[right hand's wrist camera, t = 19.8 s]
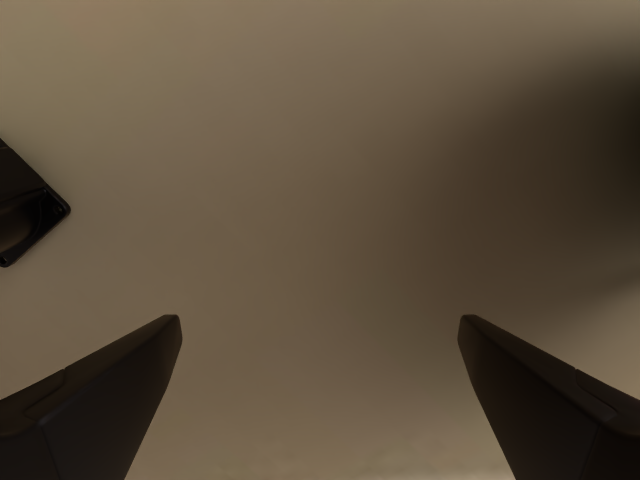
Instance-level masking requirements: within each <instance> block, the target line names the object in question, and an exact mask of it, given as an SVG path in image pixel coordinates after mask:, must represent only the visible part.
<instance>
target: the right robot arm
mask: <svg viewBox="0 0 640 480" xmlns="http://www.w3.org/2000/svg"><path fill="white" fill-rule="evenodd" d="M58 207H60V208H61V209H62V212H60V211H59V209H58ZM70 212H71V209H70V206H69V205H68V204H67V203H66V202H65V201H64V200H63V199H62V198H61V197H60V196H59V195H58V194H57V193H56V192H55V191H54V190H53V189H52V188H51V187H50V186H49V185H48V184H47V183H46V182H45V181H44V180H43V179H42V178H41V177H40V176H39V175H38V174H37V173H36V172H35V171H34V170H33V169H32V168H31V167H30V166H29V165H28V164H27V163H26V162H25V161H24V160H23V159H22V158H21V157H20V156H19V155H18V154H17V153H16V152H15V151H14V150H13V149H11V148H10V147H9V146H8V145H7V144H6V143H5V142H4V141H3V140H2V139H1V138H0V266H1V267H8V266H10V265H12V264H14V263H15V262H16V261H17V260H19V259H20V258H21V257H22V256H23V255H24V254H25V253H26V252H28V251H29V250H30V249H31V248H32V247H33V246H34V245H36V244H37V243H38V242H39V241H40V240H41V239H42V238H43V237H45V236H46V235H47V234H48V233H49V232H50V231H51V230H52V229H54V228H55V227H56V226H57V225H58V224H59V223H60V222H61V221H63V220H64V219H65V218H66V217H67V216H68V215H69V214H70ZM4 258H5V259H6V260H7V261H6V260H5V259H4ZM181 345H182V331H181V325H180V319H179V317H178V315H163V316H161V317H159V318H158V319H156V320H154V321H152V322H150V323H148V324H146V325H144V326H142V327H141V328H139V329H137V330H135V331H133V332H131V333H129V334H127V335H126V336H124V337H122V338H120V339H118V340H116V341H114V342H112V343H111V344H109V345H107V346H105V347H103V348H101V349H99V350H97V351H96V352H94V353H92V354H90V355H88V356H86V357H84V358H82V359H80V360H79V361H77V362H75V363H73V364H71V365H69V366H67V367H66V368H65V370H64V369H62V370H60V371H58V372H56V373H54V374H52V375H50V376H48V377H46V378H45V379H43V380H41V381H39V382H37V383H35V384H33V385H31V386H29V387H27V388H25V389H23V390H21V391H18V392H16V393H14V394H12V395H10V396H8V397H6V398H4V399H2V400H0V480H124V479H125V477H126V475H127V472H128V470H129V468H130V466H131V464H132V462H133V460H134V457H135V455H136V453H137V451H138V449H139V447H140V445H141V442H142V440H143V438H144V436H145V434H146V432H147V430H148V427H149V425H150V423H151V421H152V419H153V417H154V415H155V412H156V410H157V408H158V406H159V404H160V402H161V400H162V397H163V395H164V393H165V391H166V389H167V386H168V384H169V381H170V378H171V375H172V372H173V369H174V366H175V363H176V360H177V357H178V354H179V351H180V348H181ZM458 345H459V348H460V351H461V354H462V357H463V360H464V363H465V366H466V369H467V372H468V375H469V378H470V381H471V384H472V386H473V388H474V391H475V393H476V395H477V397H478V400H479V402H480V404H481V406H482V408H483V410H484V412H485V415H486V417H487V419H488V421H489V423H490V425H491V427H492V430H493V432H494V434H495V436H496V438H497V440H498V442H499V445H500V447H501V449H502V451H503V453H504V455H505V457H506V460H507V462H508V464H509V466H510V468H511V470H512V472H513V475H514V477H515V479H516V480H640V400H638V399H636V398H634V397H632V396H630V395H628V394H626V393H624V392H622V391H619V390H617V389H615V388H613V387H611V386H609V385H607V384H605V383H603V382H601V381H599V380H597V379H595V378H594V377H592V376H590V375H588V374H586V373H584V372H582V371H580V370H578V369H576V370H575V368H574V367H573V366H571V365H569V364H567V363H565V362H563V361H561V360H560V359H558V358H556V357H554V356H552V355H550V354H548V353H546V352H544V351H543V350H541V349H539V348H537V347H535V346H533V345H531V344H529V343H528V342H526V341H524V340H522V339H520V338H518V337H516V336H514V335H513V334H511V333H509V332H507V331H505V330H503V329H501V328H499V327H498V326H496V325H494V324H492V323H490V322H488V321H486V320H484V319H482V318H481V317H479V316H477V315H462V317H461V319H460V325H459V331H458Z"/></svg>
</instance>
